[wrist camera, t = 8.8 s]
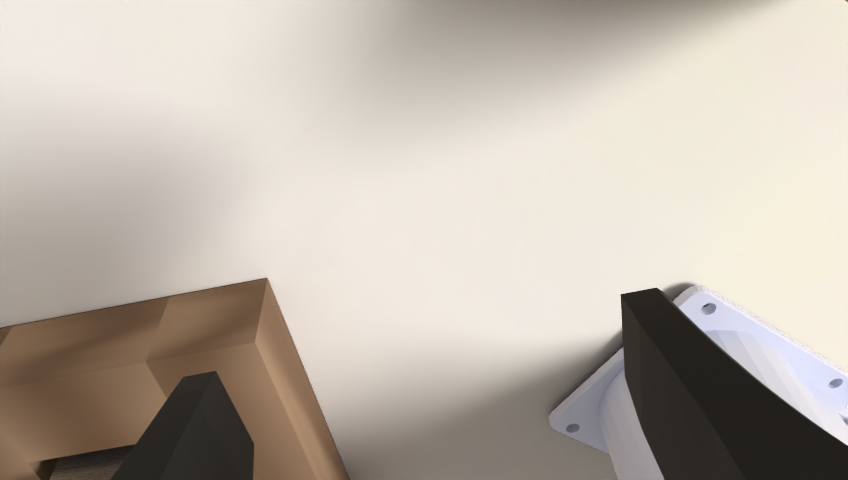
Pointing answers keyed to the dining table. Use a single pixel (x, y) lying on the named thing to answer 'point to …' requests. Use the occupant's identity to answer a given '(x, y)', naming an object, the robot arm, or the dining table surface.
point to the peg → (91, 464)
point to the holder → (159, 381)
